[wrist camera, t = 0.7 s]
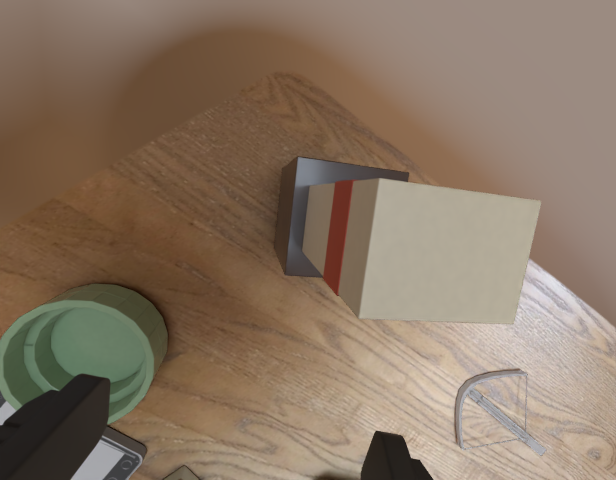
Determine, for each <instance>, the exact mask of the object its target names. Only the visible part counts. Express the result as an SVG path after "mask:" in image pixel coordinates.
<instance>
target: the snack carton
mask: <svg viewBox="0 0 616 480" xmlns="http://www.w3.org/2000/svg"><path fill="white" fill-rule="evenodd" d="M540 205H541V201H539V200H533V199H526V198H519V197H512V196H505V195H497V194H490V193H482V192H476V191H469V190H461V189H455V188H447V187H440V186H433V185H426V184H419V183H412V182H404V181H397V180H390V179H383V178H377V179H367V180H355V179H352V180H344V181H336V182H335V183H329V184H320V185H310V187H309V196H308V204H307V213H306V222H305V230H304V239H303V247H302V252H303V253H304V254H305V256H306V257H307V258H308V259H309V260H310V262H311V263H312V264H313V265H314V266H315V267H316V269H317V270H318V271H319V272H320V273H321V275H322V276H323V279H324V281H325V282H326V283H327V284H328V285H329V287H330V288H331V289H332V290H333V292H334V293H335V294H336V295H337V296H340V297H341V298H342V300H343V301H344V302H345V303H346V304H347V306H348V307H349V308H350V309H351V310H352V312H353V313H354V314H355V315H356V316H357V317H358V319H375V320H403V321H431V322H460V323H488V324H514V320H515V316H516V311H517V307H518V302H519V298H520V294H521V289H522V285H523V280H524V276H525V272H526V267H527V263H528V258H529V254H530V250H531V245H532V240H533V236H534V232H535V227H536V223H537V219H538V214H539V210H540Z"/></svg>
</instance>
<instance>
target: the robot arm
mask: <svg viewBox="0 0 616 480" xmlns="http://www.w3.org/2000/svg"><path fill="white" fill-rule="evenodd" d="M110 385H111V382H110V379H109V378H104V377H99V376H94V375H88V374H83V373H81V374H78V375H77V376H75V377H74V378H73V379H72V380H71V381H70V382H69V383H67V384H66V385H65V386H64V387H63V388H62V389H61V390H60V391H56V390H49V391H47V392H46V393H44V394H42V395H40V396H38V397H36V398H34V399H32V400H31V401H29V402H27V403H25V404H24V405H23V406H22V407H21V408H19V409H18V410H17V411H16V412H15V413H13V414H12V415H11V416H10V417H9V418H8V419H6V420H5V421H4V423H3V424H2V425H0V480H71V478H72V477H73V476H74V474H75V473H76V472H77V470H78V469H79V468H80V466H81V465H82V464H83V463H84V461H85V460H86V459H87V457H88V456H89V455H90V453H91V452H92V451H93V449H94V448H95V447H96V445H97V444H98V442H99V441H100V439H101V437H102V436H103V434H104V431H105V429H106V426H107V423H108V418H109V402H110ZM361 480H433V478H432V477H431V476H430V474H429V473H428V471H427V470H426V468H425V467H424V466H423V464H422V463H421V461H420V460H418V459H412V458H411V457H410V454H409V451H408V448H407V445H406V442H405V440H404V438H403V437H402V436H401V435H397V434H392V433H386V432H381V431H376V432H375V433H374V436H373V439H372V441H371V444H370V447H369V450H368V453H367V455H366V458H365V461H364V464H363V467H362V471H361Z"/></svg>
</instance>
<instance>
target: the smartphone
mask: <svg viewBox="0 0 616 480" xmlns="http://www.w3.org/2000/svg"><path fill="white" fill-rule="evenodd" d="M15 412H16V410H15V409H14V408H13V407H12V406H11V405H10V404H9V403H8V402H7V401H6V400H5V399H4V397H3V395H2V393H1V391H0V425H2V424H3V423H4V421H5V420H6V419H8V418H9V417H10V416H11V415H12V414H13V413H15ZM145 453H146V448H145V447H144V446H143V445H142V444H140V443H138V442H136V441H134V440H132V439H130V438H128V437H126V436H124V435H122V434H121V433H119V432H117V431H115V430H113V429H111V428H109V427H107V426H106V429H105V431H104V434H103V436H102V437H101V439H100V441H99V442H98V444H97V445H96V447H95V448H94V449H93V451H92V452H91V453H90V455H89V456H88V457H87V459H86V460H85V461H84V463H83V464H82V465H81V466H80V468H79V469H78V470H77V472H76V473H75V474H74V476H73V477H72V478H71V480H128V479H129V478H130V476H131V475H132V474H133V473H134V472H135V470H136V469H137V468H138V467H139V466H140V465H141V463H142V461H143V458H144V456H145Z"/></svg>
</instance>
